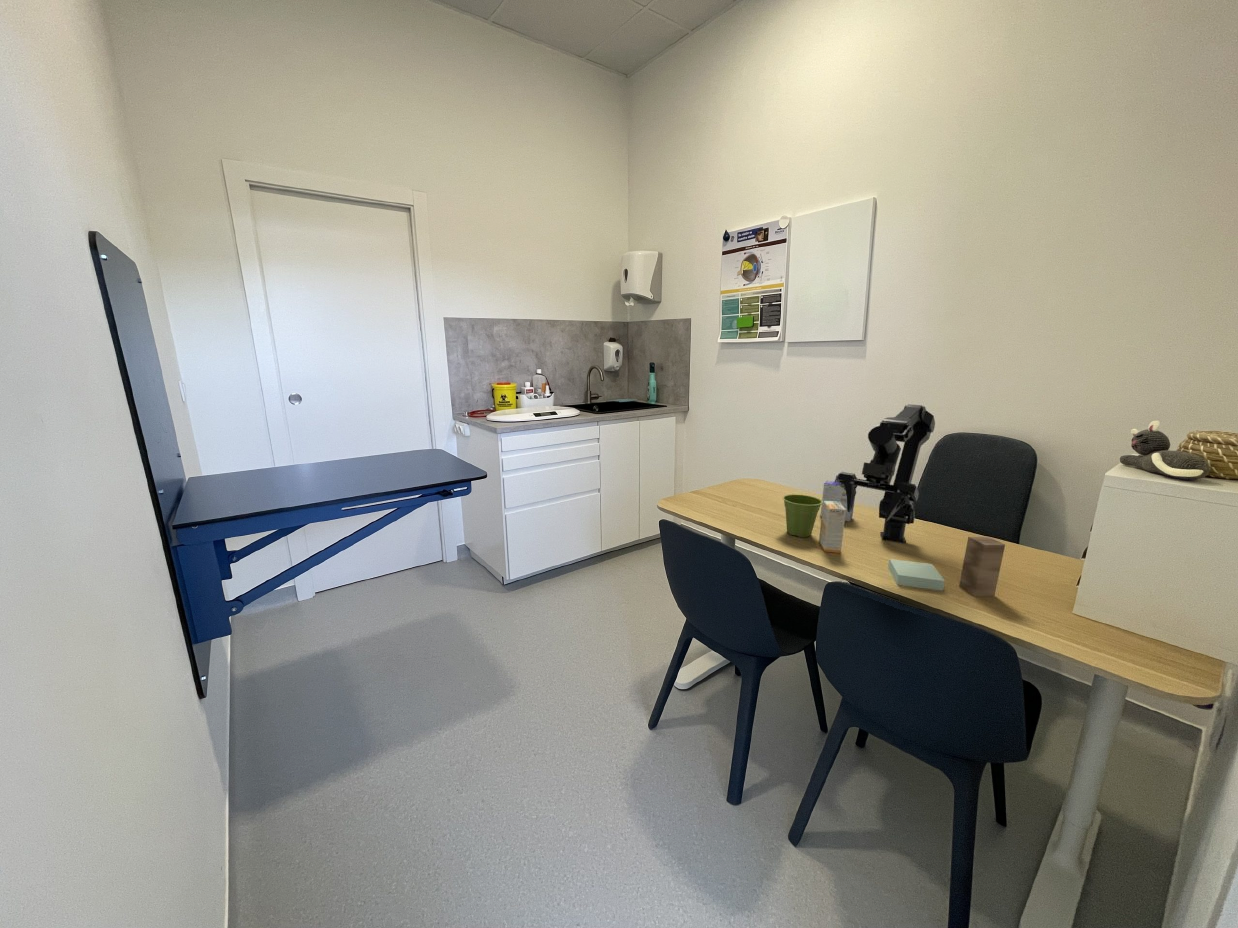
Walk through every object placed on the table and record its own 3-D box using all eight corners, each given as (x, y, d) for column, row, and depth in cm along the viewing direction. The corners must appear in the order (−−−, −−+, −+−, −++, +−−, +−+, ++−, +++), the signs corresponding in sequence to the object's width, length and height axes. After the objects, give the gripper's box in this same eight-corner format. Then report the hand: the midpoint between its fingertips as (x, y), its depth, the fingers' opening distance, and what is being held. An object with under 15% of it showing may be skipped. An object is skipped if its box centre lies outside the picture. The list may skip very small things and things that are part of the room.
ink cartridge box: (852, 517, 169) (858, 477, 166) (850, 522, 165) (856, 481, 161) (822, 512, 174) (827, 473, 171) (819, 516, 170) (824, 476, 166)
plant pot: (826, 535, 152) (831, 501, 150) (803, 543, 146) (807, 507, 143) (794, 524, 162) (798, 491, 159) (771, 531, 155) (774, 497, 153)
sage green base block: (887, 569, 130) (889, 558, 130) (930, 574, 127) (932, 564, 127) (896, 586, 121) (898, 574, 120) (942, 592, 118) (944, 580, 117)
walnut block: (958, 585, 120) (968, 536, 117) (978, 585, 121) (987, 536, 118) (974, 595, 116) (984, 544, 113) (994, 595, 116) (1005, 544, 113)
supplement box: (841, 553, 139) (847, 509, 136) (823, 551, 140) (828, 508, 137) (835, 542, 147) (840, 501, 144) (818, 541, 148) (823, 499, 145)
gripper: (840, 443, 130) (822, 496, 127) (920, 454, 117) (902, 513, 114) (850, 461, 138) (833, 511, 135) (925, 473, 125) (908, 529, 122)
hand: (866, 515), depth 126 cm, fingers open, 9 cm apart
